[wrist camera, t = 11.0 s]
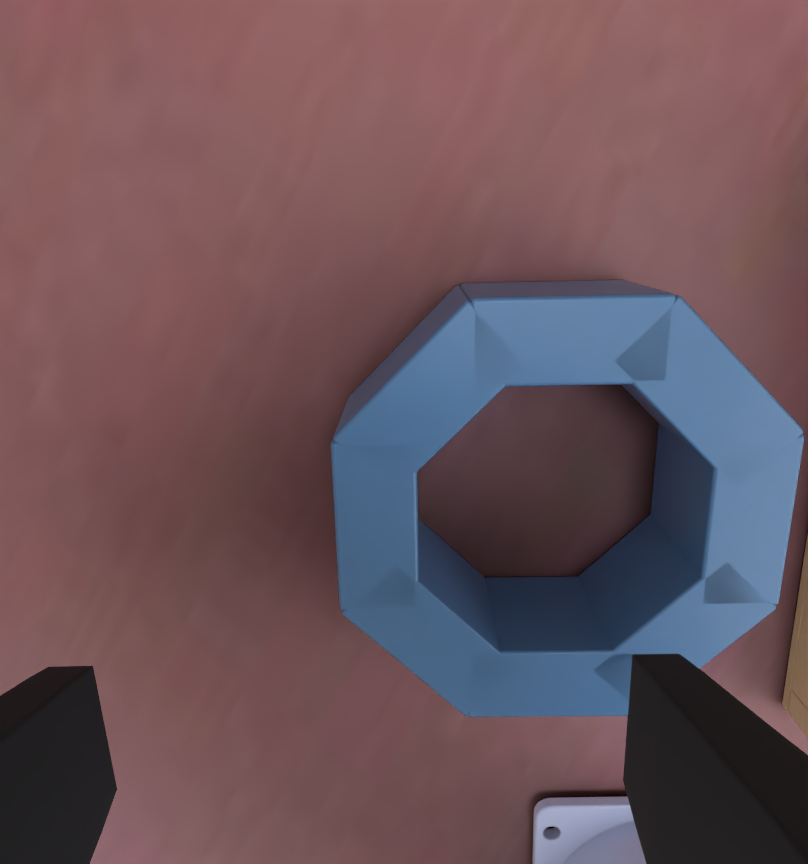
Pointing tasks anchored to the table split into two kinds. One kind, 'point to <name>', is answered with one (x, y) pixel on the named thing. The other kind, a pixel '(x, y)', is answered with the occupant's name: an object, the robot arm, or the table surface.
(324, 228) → the table surface
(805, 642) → the tray
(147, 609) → the table surface
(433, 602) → the ring
